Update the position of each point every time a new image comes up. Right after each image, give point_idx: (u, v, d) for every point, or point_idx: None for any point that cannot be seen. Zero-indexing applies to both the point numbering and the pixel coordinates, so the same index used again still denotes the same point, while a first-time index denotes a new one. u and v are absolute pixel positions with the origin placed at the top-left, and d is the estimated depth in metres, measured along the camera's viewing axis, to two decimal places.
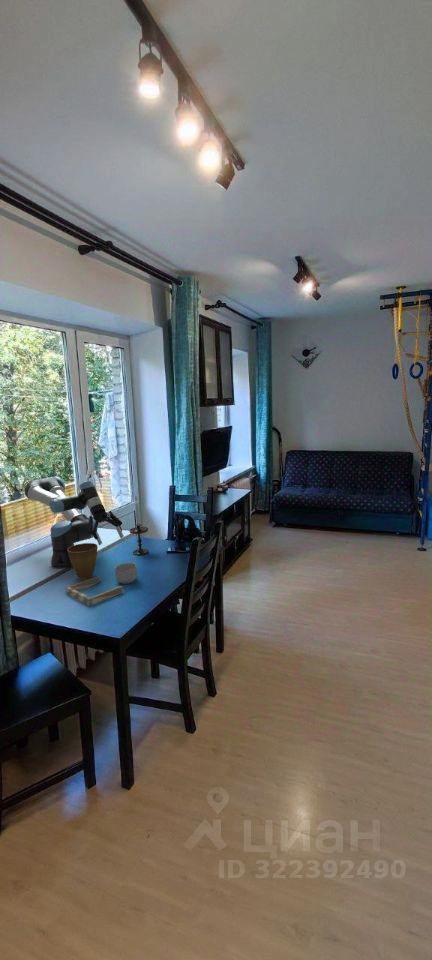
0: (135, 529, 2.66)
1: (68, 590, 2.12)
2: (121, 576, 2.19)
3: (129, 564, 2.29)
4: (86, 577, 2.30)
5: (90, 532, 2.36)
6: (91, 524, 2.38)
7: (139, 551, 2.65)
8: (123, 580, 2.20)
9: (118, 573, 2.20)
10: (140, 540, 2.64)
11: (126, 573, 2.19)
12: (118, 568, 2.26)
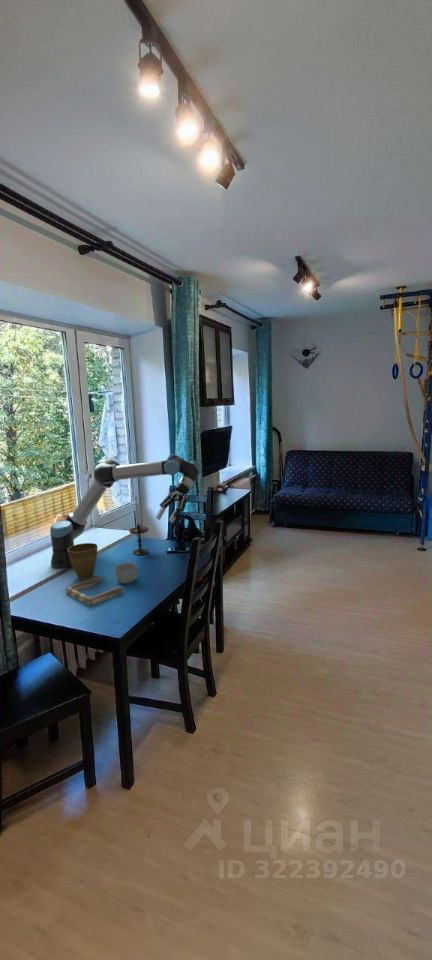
0: (135, 529, 2.66)
1: (68, 590, 2.12)
2: (121, 576, 2.19)
3: (129, 564, 2.29)
4: (86, 577, 2.30)
5: (182, 511, 2.38)
6: None
7: (139, 551, 2.65)
8: (123, 580, 2.20)
9: (118, 573, 2.20)
10: (140, 540, 2.64)
11: (126, 573, 2.19)
12: (118, 568, 2.26)
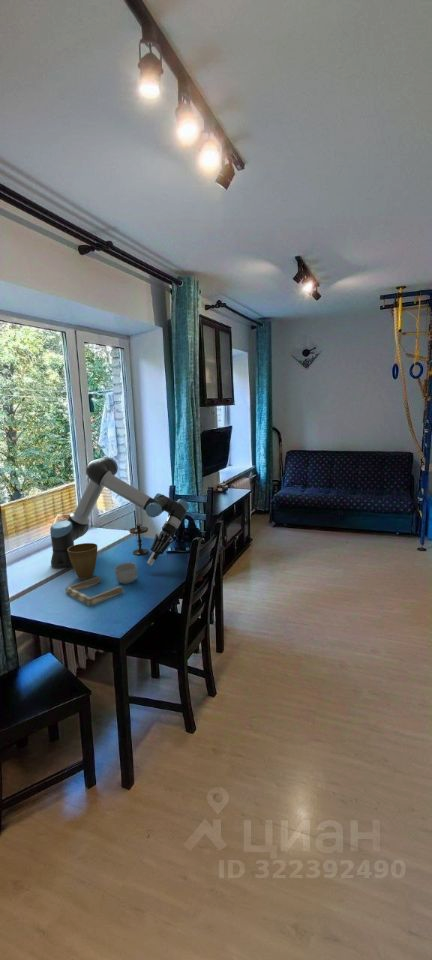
0: (135, 529, 2.66)
1: (68, 590, 2.12)
2: (121, 576, 2.19)
3: (129, 564, 2.29)
4: (86, 577, 2.30)
5: (161, 553, 2.36)
6: None
7: (139, 551, 2.65)
8: (123, 580, 2.20)
9: (118, 573, 2.20)
10: (140, 540, 2.64)
11: (126, 573, 2.19)
12: (118, 568, 2.26)
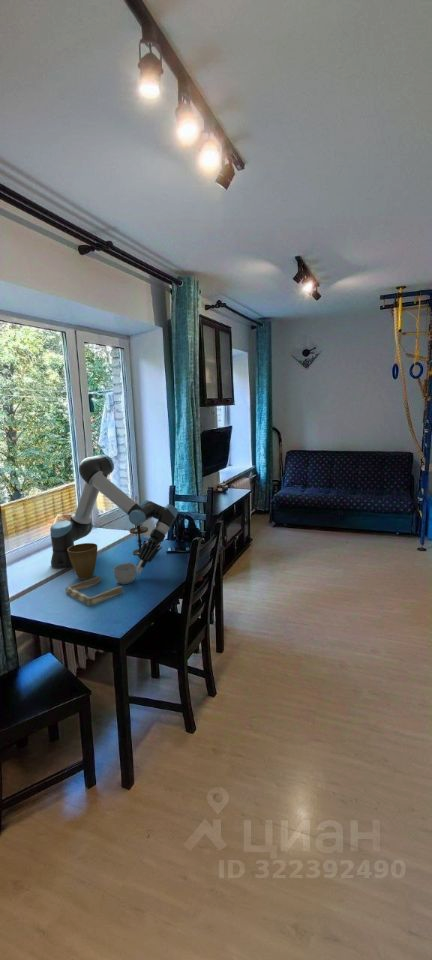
0: (135, 529, 2.66)
1: (68, 590, 2.12)
2: (120, 576, 2.19)
3: (128, 564, 2.28)
4: (86, 577, 2.30)
5: (149, 561, 2.29)
6: None
7: (139, 551, 2.65)
8: (122, 580, 2.19)
9: (117, 573, 2.19)
10: (140, 540, 2.64)
11: (125, 573, 2.19)
12: (117, 568, 2.26)
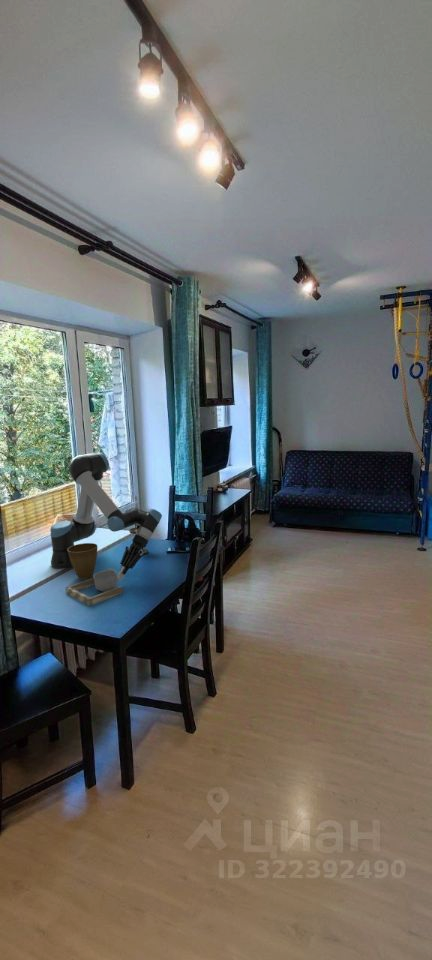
0: (135, 529, 2.66)
1: (68, 590, 2.12)
2: (99, 584, 2.11)
3: (109, 571, 2.20)
4: (86, 577, 2.30)
5: (131, 568, 2.21)
6: None
7: None
8: (101, 588, 2.12)
9: (96, 581, 2.12)
10: None
11: (104, 581, 2.11)
12: (98, 575, 2.18)
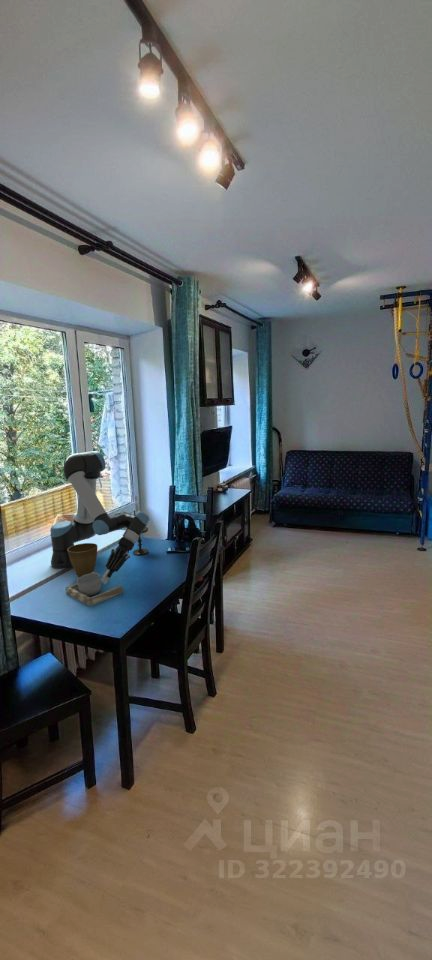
0: None
1: (68, 590, 2.12)
2: (83, 588, 2.07)
3: (93, 574, 2.16)
4: None
5: (116, 571, 2.17)
6: None
7: (139, 551, 2.65)
8: (85, 592, 2.08)
9: (80, 585, 2.08)
10: (140, 540, 2.64)
11: (88, 585, 2.07)
12: (81, 579, 2.14)
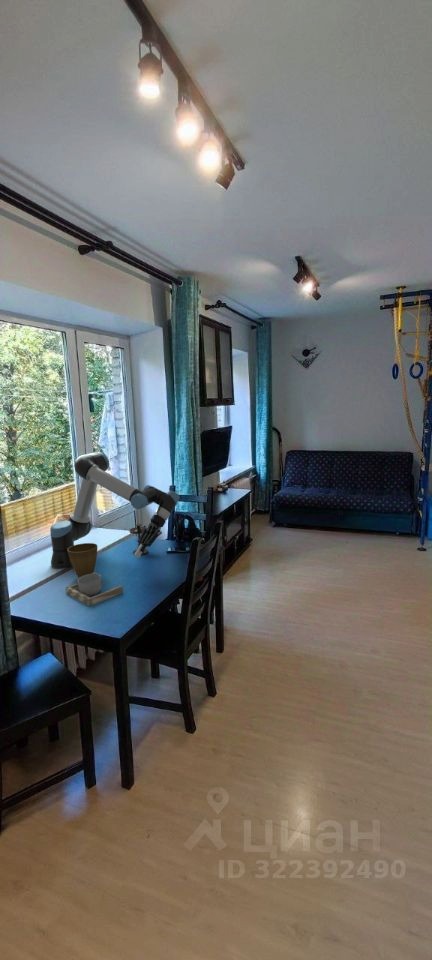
0: (135, 529, 2.66)
1: (68, 590, 2.12)
2: (83, 588, 2.07)
3: (94, 575, 2.16)
4: None
5: (149, 546, 2.29)
6: None
7: None
8: (85, 592, 2.08)
9: (80, 585, 2.08)
10: None
11: (88, 585, 2.07)
12: (82, 579, 2.15)
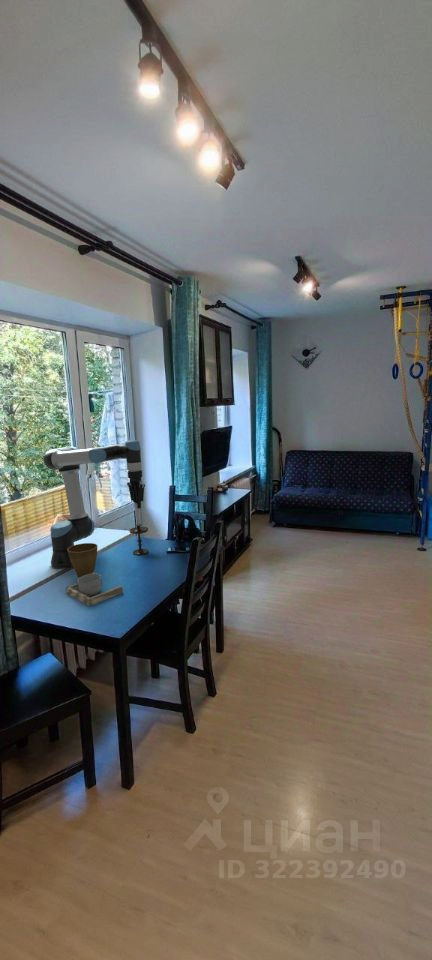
0: (135, 529, 2.66)
1: (68, 590, 2.12)
2: (83, 588, 2.07)
3: (94, 575, 2.16)
4: None
5: (142, 500, 2.36)
6: None
7: (139, 551, 2.65)
8: (85, 592, 2.08)
9: (80, 585, 2.08)
10: (140, 540, 2.64)
11: (88, 585, 2.07)
12: (82, 579, 2.15)
